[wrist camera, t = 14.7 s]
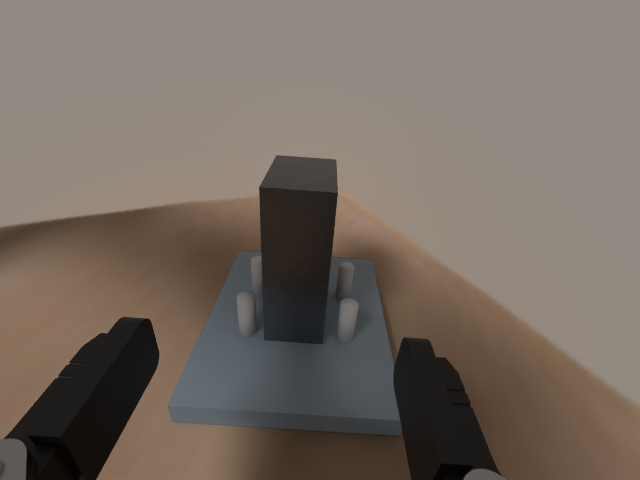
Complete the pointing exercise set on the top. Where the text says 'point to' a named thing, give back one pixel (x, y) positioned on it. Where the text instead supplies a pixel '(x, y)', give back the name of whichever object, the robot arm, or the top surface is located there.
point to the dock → (293, 361)
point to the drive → (297, 246)
